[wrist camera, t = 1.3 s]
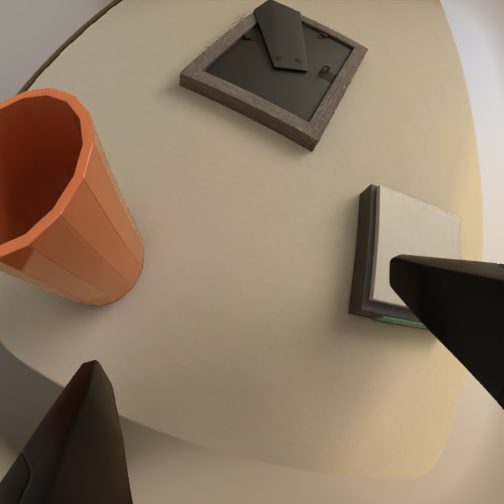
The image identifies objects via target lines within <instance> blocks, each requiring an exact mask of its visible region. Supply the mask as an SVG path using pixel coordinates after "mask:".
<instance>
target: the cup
mask: <svg viewBox="0 0 504 504" xmlns="http://www.w3.org/2000/svg"><path fill="white" fill-rule="evenodd" d="M143 256H144V252H143V245H142V241H141V238H140V235H139V232H138V229H137V227H136V225H135V223H134V221H133V218H132V216H131V214H130V212H129V209H128V207H127V205H126V203H125V200H124V198H123V196H122V194H121V191H120V189H119V187H118V184H117V182H116V179H115V177H114V175H113V172H112V170H111V167H110V165H109V163H108V160H107V158H106V155H105V153H104V150H103V147H102V145H101V142H100V140H99V137H98V134H97V132H96V129H95V126H94V124H93V121H92V118H91V115H90V113H89V112H88V111H87V110H86V108H85V107H84V106H83V105H82V104H81V102H80V101H79V100H78V99H77V98H76V96H74V95H72V94H69V93H66V92H63V91H60V90H56V89H53V88H52V89H51V88H47V89H39V90H32V91H26V92H23V93H21V94H19V95H16V96H14V97H13V98H10V99H8V100H6V101H4V102H2V103H0V271H2V272H4V273H6V274H9V275H11V276H13V277H16V278H18V279H20V280H23V281H25V282H27V283H30V284H32V285H35V286H37V287H40V288H42V289H45V290H47V291H50V292H52V293H55V294H57V295H60V296H62V297H65V298H68V299H70V300H73V301H76V302H79V303H82V304H88V305H97V306H98V305H105V304H109V303H112V302H114V301H116V300H118V299H120V298H121V297H123V296H124V295H125V294H126V293H127V292H128V291H129V290H130V289H131V288H132V287H133V286H134V284H135V283H136V281H137V279H138V277H139V275H140V273H141V269H142V265H143Z"/></svg>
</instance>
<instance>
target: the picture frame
mask: <svg viewBox="0 0 504 504" xmlns="http://www.w3.org/2000/svg"><path fill="white" fill-rule="evenodd" d="M367 50H368V49H367V48H365V47H364V46H362V45H360V44H358V43H357V42H355V41H353V40H351V39H349V38H347V37H346V36H344V35H342V34H340V33H338V32H336V31H334V30H332V29H330V28H328V27H326V26H324V25H322V24H320V23H318V22H316V21H314V20H311V19H309V18H307V17H305V16H303V15H300V12H298V11H296V10H293V9H291V8H289V7H287V6H285V5H282V4H280V3H278V2H275V1H273V0H268V1H266V2H265V3H263V4H262V5H260V6H259V7H257V8H256V9H255V10H254V13H252V14H251V15H249V16H248V17H247V18H245V19H244V20H243V21H241V22H240V23H239V24H237V25H236V26H235V27H234V28H232V29H231V30H230V31H228V32H227V33H226V34H225V35H223V36H222V37H221V38H220V39H218V40H217V41H216V42H215V43H214V44H212V45H211V46H210V47H209V48H208V49H206V50H205V51H204V52H203V53H202V54H201V55H200V56H198V57H197V58H196V59H195V60H194V61H193V62H192V63H191V64H189V65H188V66H187V67H186V68H185V69H184V70H183V71H182V72H181V73H180V85H181V86H183V87H186V88H188V89H190V90H192V91H195V92H197V93H199V94H201V95H204V96H206V97H208V98H210V99H212V100H215V101H217V102H219V103H221V104H223V105H225V106H227V107H229V108H232V109H234V110H236V111H238V112H240V113H242V114H244V115H246V116H248V117H250V118H252V119H254V120H256V121H258V122H260V123H262V124H263V125H265V126H267V127H269V128H271V129H273V130H275V131H277V132H279V133H280V134H282V135H284V136H286V137H288V138H290V139H291V140H293V141H295V142H297V143H299V144H300V145H302V146H304V147H306V148H307V149H309V150H311V151H313V149H314V148H315V146H316V144H317V143H318V141H319V139H320V138H321V136H322V134H323V132H324V130H325V128H326V126H327V125H328V123H329V121H330V119H331V117H332V115H333V113H334V112H335V110H336V108H337V106H338V104H339V102H340V100H341V99H342V97H343V95H344V93H345V91H346V89H347V87H348V86H349V84H350V82H351V80H352V78H353V76H354V74H355V73H356V71H357V69H358V67H359V65H360V63H361V61H362V59H363V58H364V56H365V54H366V52H367Z"/></svg>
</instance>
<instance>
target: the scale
mask: <svg viewBox="0 0 504 504" xmlns="http://www.w3.org/2000/svg"><path fill="white" fill-rule="evenodd" d="M400 254H406V255H416V256H427V257H437V258H448V259H458V260H461V234H460V218H459V217H457V216H454V215H452V214H450V213H448V212H446V211H443V210H441V209H439V208H436V207H434V206H432V205H429V204H427V203H425V202H422V201H420V200H417V199H415V198H413V197H410V196H408V195H405V194H403V193H400V192H397V191H395V190H392V189H390V188H387V187H384V186H382V185H380V186H375V185H372V184H371V185H370V186H369V187H368V188H366V189H365V190H364V191H363V192H362V193H361V194H360V205H359V220H358V233H357V244H356V255H355V265H354V274H353V283H352V291H351V299H350V306H349V313H350V314H356V315H361V316H366V317H371V318H375V319H376V320H381V321H386V322H391V323H397V324H402V325H408V326H413V327H419V328H425V329H427V328H426V327H425V326H424V325H423V324H422V323H421V322H420V321H419V320H418V319H417V318H416V316H415V315H414V314H413V313H412V312H411V311H410V309H409V308H408V307H407V306H406V305H405V303H404V302H403V301H402V300H401V299H400V298H399V296H398V295H397V294H396V293H395V292H394V291H393V289H392V288H391V286H390V284H389V264H390V260H391V259H392V258H393V257H395V256H397V255H400Z"/></svg>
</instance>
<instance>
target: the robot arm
mask: <svg viewBox="0 0 504 504" xmlns="http://www.w3.org/2000/svg"><path fill="white" fill-rule="evenodd" d="M389 284H390V286H391V288H392V289H393V291H394V292H395V293H396V294H397V295H398V296H399V298H400V299H401V300H402V301H403V302H404V303H405V305H406V306H407V307H408V308H409V309H410V311H411V312H412V313H413V314H414V315H415V316H416V318H417V319H418V320H419V321H420V322H421V323H422V324H423V325H424V326H425V327H426V328H427V329H428V330H429V331H430V332H431V333H432V334H433V335H434V336H435V337H436V338H437V339H438V340H439V341H440V342H441V343H442V344H443V345H444V346H445V347H446V348H447V349H448V350H449V351H450V352H451V353H452V354H453V355H454V356H455V357H456V358H457V359H458V360H459V361H460V362H461V363H462V364H463V365H464V366H465V368H466V369H467V370H468V371H469V372H470V373H471V374H472V375H473V376H474V377H475V378H476V379H477V380H478V381H479V382H480V384H481V385H482V386H483V387H484V388H485V389H486V390H487V391H488V392H489V393H490V395H491V396H492V397H493V398H494V399H495V400H496V401H497V403H498V404H499V405H500V406H501V407H502V408H503V409H504V264H497V263H487V262H478V261H468V260H458V259H448V258H437V257H427V256H416V255H406V254H400V255H397V256H395V257H393V258H392V259H391V260H390V264H389ZM22 451H23V452H20V454H19V455H18V457H17V458H16V460H15V461H14V463H13V464H12V466H11V467H10V469H9V470H8V472H7V473H6V475H5V476H4V478H3V479H2V480H1V482H0V504H133V502H132V497H131V490H130V484H129V478H128V472H127V465H126V457H125V450H124V442H123V435H122V430H121V426H120V421H119V416H118V412H117V407H116V402H115V396H114V391H113V387H112V384H111V382H110V380H109V379H108V377H107V375H106V373H105V372H104V370H103V368H102V366H101V365H100V363H99V362H98V361H96V360H93V361H89V362H86V363H83V364H82V365H81V367H80V368H79V369H78V371H77V372H76V373H75V375H74V376H73V377H72V379H71V380H70V381H69V383H68V384H67V386H66V387H65V388H64V390H63V391H62V393H61V394H60V395H59V397H58V398H57V399H56V401H55V402H54V404H53V405H52V407H51V408H50V409H49V411H48V412H47V414H46V415H45V416H44V418H43V419H42V421H41V422H40V424H39V425H38V427H37V428H36V430H35V431H34V433H33V434H32V435H31V437H30V439H29V440H28V441H27V443H26V445H25V446H24V448H23V449H22Z"/></svg>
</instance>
